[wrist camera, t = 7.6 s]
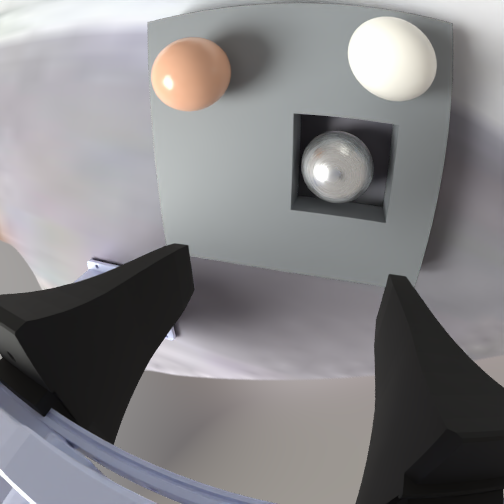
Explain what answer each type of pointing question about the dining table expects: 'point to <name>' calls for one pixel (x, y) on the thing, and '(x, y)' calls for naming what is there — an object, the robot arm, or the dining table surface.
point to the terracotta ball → (191, 74)
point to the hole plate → (296, 145)
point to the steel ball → (337, 167)
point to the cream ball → (392, 58)
